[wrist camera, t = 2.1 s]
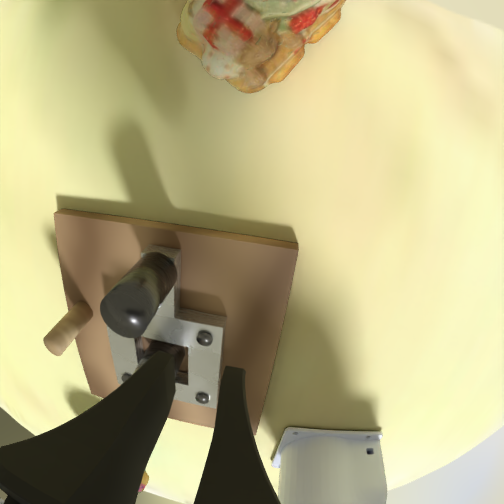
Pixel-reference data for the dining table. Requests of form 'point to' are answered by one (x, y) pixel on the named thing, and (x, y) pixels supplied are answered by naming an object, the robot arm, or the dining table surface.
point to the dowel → (68, 328)
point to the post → (167, 348)
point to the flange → (164, 325)
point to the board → (181, 294)
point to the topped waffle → (254, 36)
